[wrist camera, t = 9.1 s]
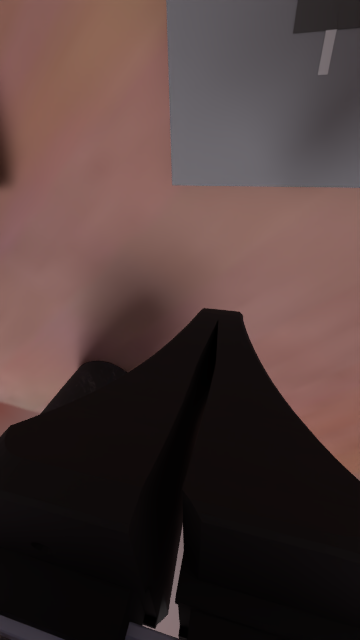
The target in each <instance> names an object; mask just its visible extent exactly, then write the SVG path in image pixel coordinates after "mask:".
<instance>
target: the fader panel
mask: <svg viewBox="0 0 360 640" xmlns="http://www.w3.org/2000/svg"><path fill="white" fill-rule="evenodd" d="M166 3H167V35H168V67H169V98H170V130H171V162H172V185H196V186H274V187H352V188H360V0H166Z"/></svg>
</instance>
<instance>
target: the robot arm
mask: <svg viewBox="0 0 360 640" xmlns="http://www.w3.org/2000/svg"><path fill="white" fill-rule="evenodd" d="M182 524H183V538H184V553H183V559H182V565H181V570H180V575H179V581H178V586H177V592H176V598H175V603H176V604H178V607H179V620H180V629H179V639H178V638H175V637H172V636H169V635H166V634H163V633H161V632H158V631H155V630H152V629H149V628H146V627H144V626H142V625H146V626H149V627H151V628H154V629H155V628H156V625H157V624H158V623H159V622H161V620H163V619H164V617H166V616H167V615H168V610H169V604H170V597H171V591H172V585H173V579H174V572H175V566H176V560H177V554H178V548H179V542H180V536H181V530H182ZM0 635H1V636H3V637H6V638H8V639H11V640H360V481H359V480H358V479H357V478H356V477H355V476H354V475H353V474H351V473H350V472H349V471H348V470H347V469H346V468H345V467H344V466H343V465H342V464H341V463H340V462H339V461H338V460H337V459H336V458H335V457H334V456H333V455H332V454H331V453H330V452H329V451H328V450H327V449H326V448H325V447H324V446H323V445H322V444H321V443H320V441H319V440H318V439H317V438H316V437H315V436H314V435H313V433H312V432H311V431H310V430H309V429H308V428H307V426H306V425H305V424H304V423H303V422H302V421H301V419H300V418H299V417H298V416H297V415H296V414H295V412H294V411H293V410H292V409H291V407H290V406H289V405H288V403H287V402H286V401H285V399H284V398H283V397H282V395H281V394H280V392H279V391H278V389H277V388H276V387H275V385H274V384H273V382H272V381H271V379H270V377H269V376H268V374H267V372H266V371H265V369H264V367H263V365H262V364H261V362H260V360H259V358H258V356H257V354H256V352H255V350H254V348H253V346H252V344H251V341H250V339H249V337H248V334H247V331H246V328H245V325H244V321H243V315H242V314H241V313H240V312H236V311H226V310H217V309H207V308H204V309H202V310H201V311H200V312H199V313H198V314H197V315H196V316H195V318H194V319H193V320H192V321H191V322H190V323H189V324H188V325H187V326H186V327H185V328H184V329H183V330H182V331H181V332H180V333H179V334H178V335H177V336H176V337H174V338H173V339H172V340H171V341H170V342H169V343H168V344H166V345H165V346H164V347H163V348H162V349H160V350H159V351H158V352H157V353H156V354H154V355H153V356H152V357H150V358H149V359H148V360H146V361H145V362H144V363H142V364H141V365H139V366H138V367H136V368H135V369H133V370H132V371H130V372H128V373H127V374H125V375H123V376H121V377H120V378H118V379H116V380H114V381H113V382H111V383H109V384H107V385H106V386H104V387H102V388H100V389H98V390H96V391H94V392H92V393H90V394H88V395H86V396H83V397H81V398H79V399H77V400H75V401H72V402H70V403H68V404H66V405H63V406H61V407H58V408H56V409H53V410H51V411H48V412H46V413H43V414H40V415H38V416H35V417H33V418H30V419H28V420H25V421H22V422H19V423H16V424H14V425H11V426H10V427H9V428H8V429H7V430H6V431H5V432H4V433H3V434H2V436H1V437H0Z"/></svg>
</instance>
